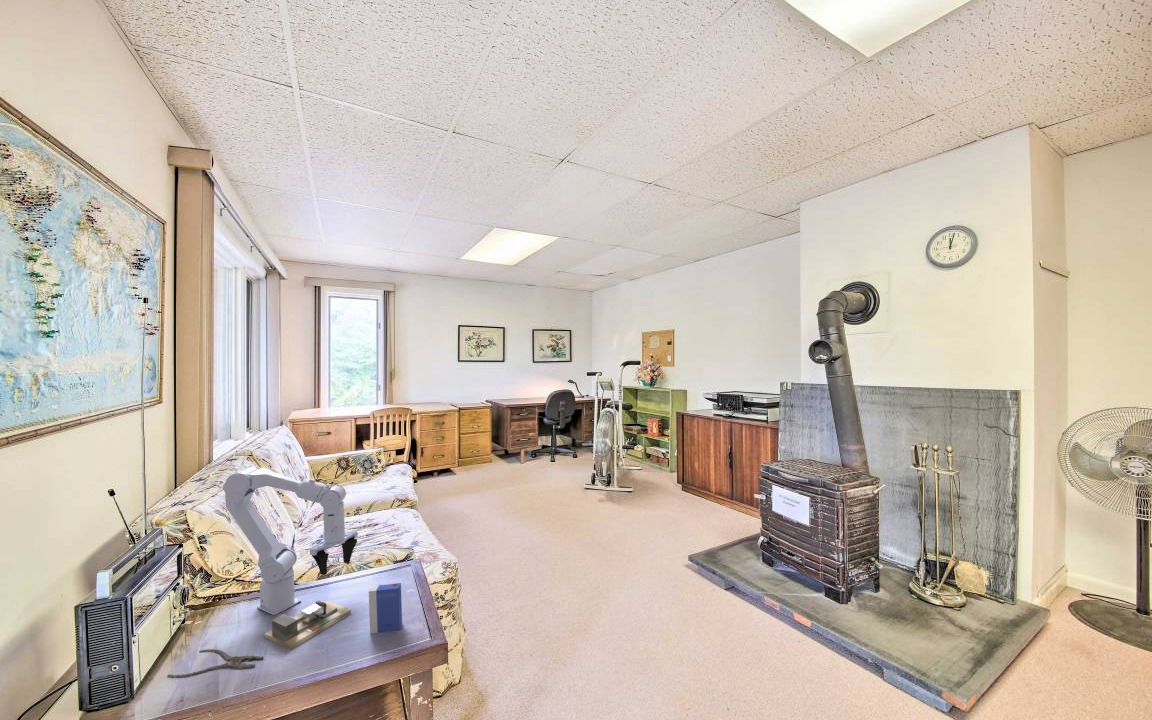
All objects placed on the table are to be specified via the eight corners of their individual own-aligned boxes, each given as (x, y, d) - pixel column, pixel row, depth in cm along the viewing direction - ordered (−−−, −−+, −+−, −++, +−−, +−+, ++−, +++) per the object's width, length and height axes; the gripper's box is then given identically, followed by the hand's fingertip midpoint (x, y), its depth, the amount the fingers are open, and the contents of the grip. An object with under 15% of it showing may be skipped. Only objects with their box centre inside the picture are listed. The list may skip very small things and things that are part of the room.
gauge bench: (325, 603, 130) (325, 587, 130) (350, 613, 125) (350, 596, 125) (264, 636, 115) (264, 618, 115) (290, 649, 110) (289, 630, 110)
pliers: (193, 650, 110) (277, 639, 113) (193, 653, 110) (277, 642, 113) (163, 678, 100) (256, 665, 103) (163, 681, 100) (256, 668, 103)
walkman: (402, 623, 119) (400, 581, 119) (399, 630, 116) (398, 586, 116) (372, 627, 118) (371, 584, 118) (369, 633, 115) (368, 590, 115)
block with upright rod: (318, 611, 124) (318, 600, 124) (332, 616, 121) (332, 605, 121) (301, 620, 120) (301, 609, 120) (315, 626, 117) (315, 615, 117)
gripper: (319, 536, 125) (320, 582, 125) (363, 519, 138) (364, 560, 138) (304, 532, 128) (306, 577, 128) (349, 516, 141) (350, 556, 141)
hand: (335, 568), depth 133 cm, fingers open, 7 cm apart
